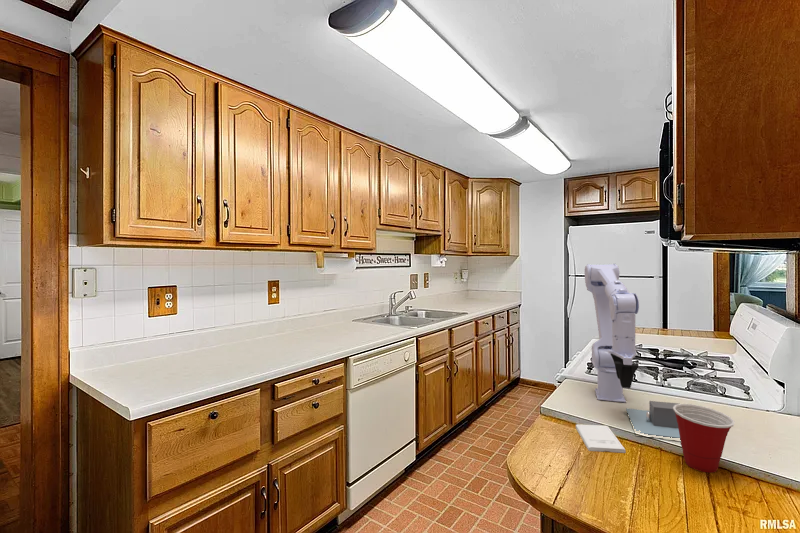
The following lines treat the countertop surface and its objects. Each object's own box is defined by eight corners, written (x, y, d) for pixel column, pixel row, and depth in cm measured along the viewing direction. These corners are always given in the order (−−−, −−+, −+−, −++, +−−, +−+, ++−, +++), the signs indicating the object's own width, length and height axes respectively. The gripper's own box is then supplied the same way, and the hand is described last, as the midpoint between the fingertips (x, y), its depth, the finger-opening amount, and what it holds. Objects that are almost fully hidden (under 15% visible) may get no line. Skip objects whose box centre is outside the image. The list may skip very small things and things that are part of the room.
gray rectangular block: (649, 418, 110) (649, 400, 110) (679, 421, 107) (679, 403, 107) (653, 425, 106) (653, 407, 105) (685, 429, 103) (685, 410, 103)
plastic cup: (738, 486, 81) (739, 427, 80) (673, 471, 86) (673, 416, 86) (730, 461, 90) (730, 408, 89) (671, 449, 95) (672, 399, 95)
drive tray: (626, 411, 117) (626, 399, 117) (700, 419, 110) (700, 407, 110) (635, 436, 102) (636, 422, 102) (722, 447, 96) (722, 432, 95)
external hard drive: (608, 431, 107) (625, 455, 94) (575, 429, 108) (588, 453, 96) (608, 425, 106) (625, 448, 94) (575, 424, 108) (588, 446, 96)
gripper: (605, 330, 122) (605, 373, 122) (611, 340, 108) (611, 390, 109) (631, 331, 119) (631, 376, 120) (641, 342, 106) (640, 392, 106)
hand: (623, 383), depth 114 cm, fingers open, 7 cm apart
